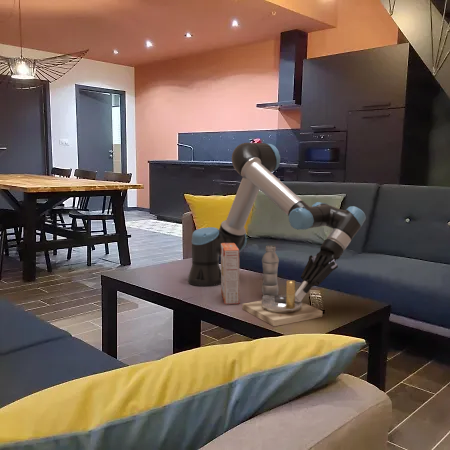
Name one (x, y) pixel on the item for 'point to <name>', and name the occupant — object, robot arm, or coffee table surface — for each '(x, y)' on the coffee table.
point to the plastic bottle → (270, 271)
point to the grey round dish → (283, 301)
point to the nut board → (281, 314)
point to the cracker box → (230, 273)
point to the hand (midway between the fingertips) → (296, 298)
